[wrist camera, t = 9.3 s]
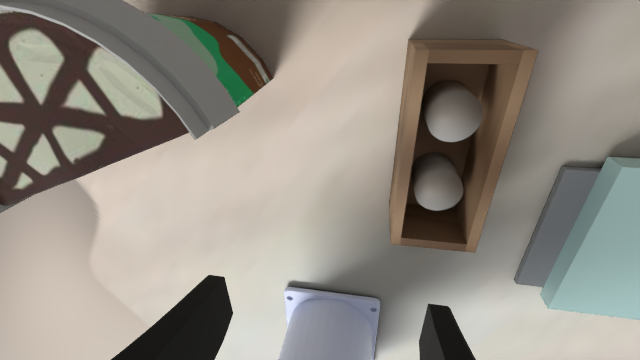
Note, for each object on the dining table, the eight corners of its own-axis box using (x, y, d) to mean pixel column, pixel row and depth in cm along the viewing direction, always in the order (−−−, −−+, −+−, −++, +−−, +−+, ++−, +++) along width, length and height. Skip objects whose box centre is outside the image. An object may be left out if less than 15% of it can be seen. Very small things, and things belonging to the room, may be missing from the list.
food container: (243, -56, 15) (52, -138, 6) (295, 69, 17) (211, 133, 9) (76, 46, 19) (-176, 82, 10) (138, 136, 21) (-24, 225, 13)
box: (458, 209, 20) (474, 252, 16) (389, 203, 20) (390, 243, 17) (502, 39, 15) (538, 50, 11) (408, 39, 16) (415, 49, 12)
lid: (631, 304, 21) (644, 320, 20) (540, 294, 22) (547, 308, 21) (734, 163, 15) (759, 174, 14) (607, 156, 16) (622, 167, 15)
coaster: (661, 296, 20) (665, 301, 20) (514, 279, 22) (516, 283, 21) (754, 177, 16) (762, 181, 16) (561, 166, 17) (565, 169, 17)
